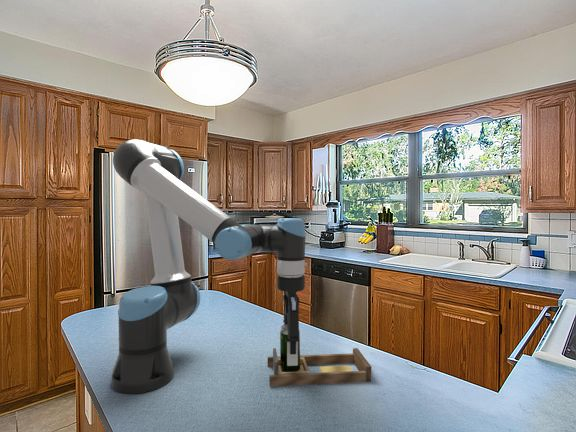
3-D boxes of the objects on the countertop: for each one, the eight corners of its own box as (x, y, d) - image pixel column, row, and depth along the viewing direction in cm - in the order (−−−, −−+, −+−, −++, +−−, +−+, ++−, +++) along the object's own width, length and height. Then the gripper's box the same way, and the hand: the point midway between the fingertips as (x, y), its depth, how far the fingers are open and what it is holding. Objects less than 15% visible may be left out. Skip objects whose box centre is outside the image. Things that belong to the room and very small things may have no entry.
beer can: (287, 377, 90) (287, 332, 90) (276, 369, 95) (276, 326, 94) (304, 371, 93) (303, 328, 93) (292, 363, 98) (292, 322, 97)
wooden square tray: (275, 382, 89) (275, 362, 89) (272, 366, 98) (273, 348, 98) (309, 380, 90) (309, 360, 90) (304, 365, 99) (304, 347, 99)
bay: (269, 386, 87) (269, 370, 87) (267, 365, 99) (267, 351, 99) (371, 381, 90) (371, 366, 90) (357, 361, 102) (357, 348, 102)
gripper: (311, 282, 83) (310, 375, 84) (299, 268, 104) (298, 342, 104) (280, 283, 82) (279, 377, 83) (274, 268, 103) (274, 343, 104)
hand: (290, 357), depth 94 cm, fingers open, 8 cm apart
